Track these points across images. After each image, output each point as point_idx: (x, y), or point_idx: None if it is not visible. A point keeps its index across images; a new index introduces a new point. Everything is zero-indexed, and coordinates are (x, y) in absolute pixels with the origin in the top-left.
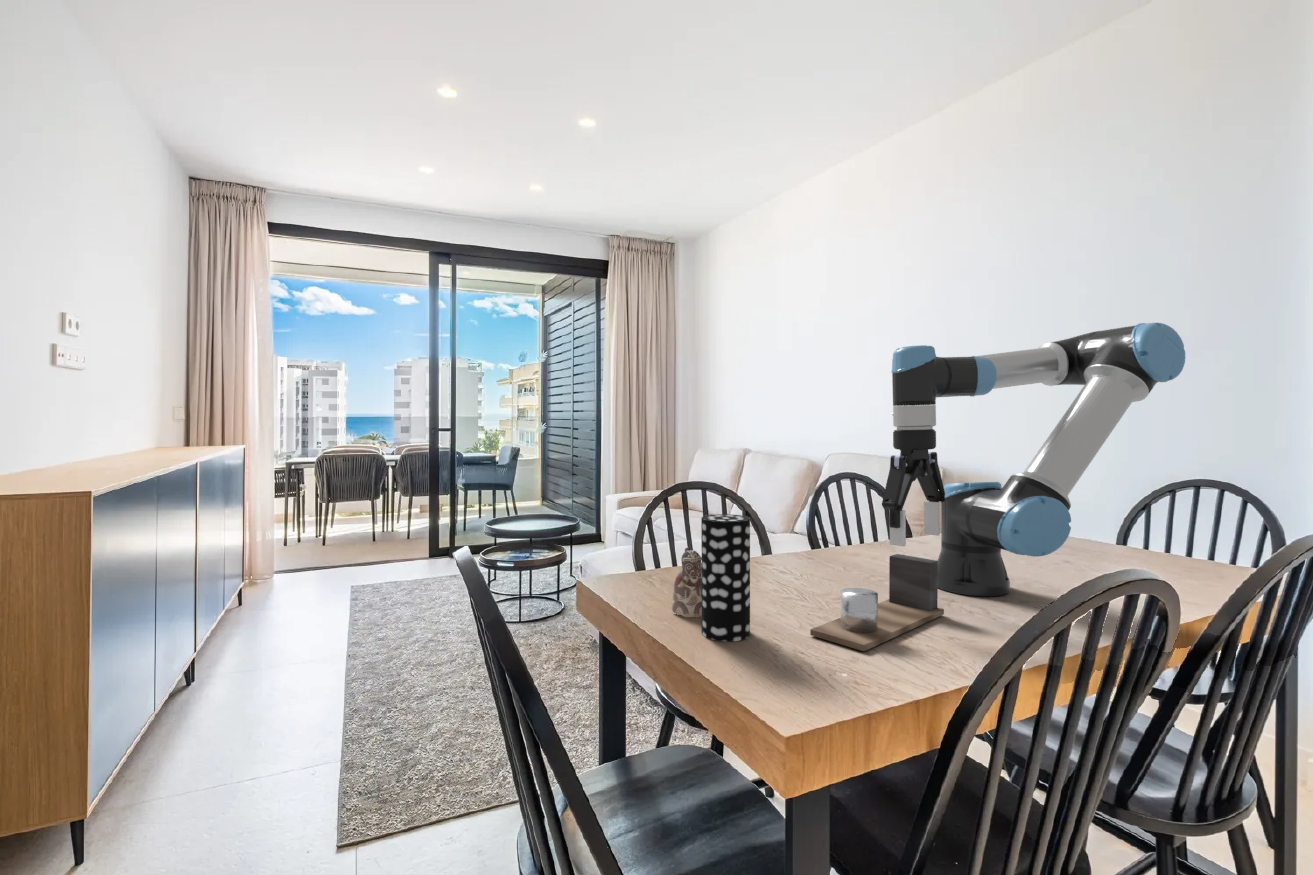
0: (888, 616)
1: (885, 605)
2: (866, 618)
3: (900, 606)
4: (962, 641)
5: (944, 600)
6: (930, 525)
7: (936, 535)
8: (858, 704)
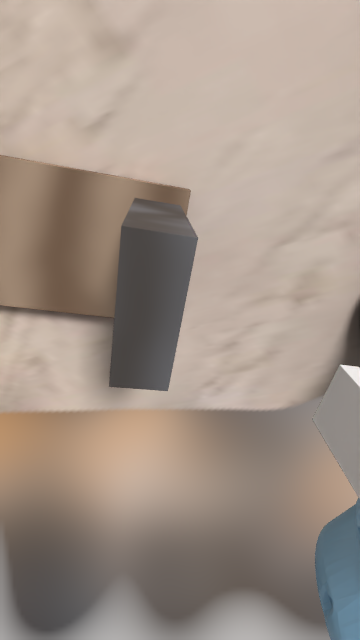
0: (4, 244)
1: (94, 200)
2: None
3: (115, 238)
4: (34, 378)
5: (295, 283)
6: (355, 429)
7: (315, 413)
8: None
